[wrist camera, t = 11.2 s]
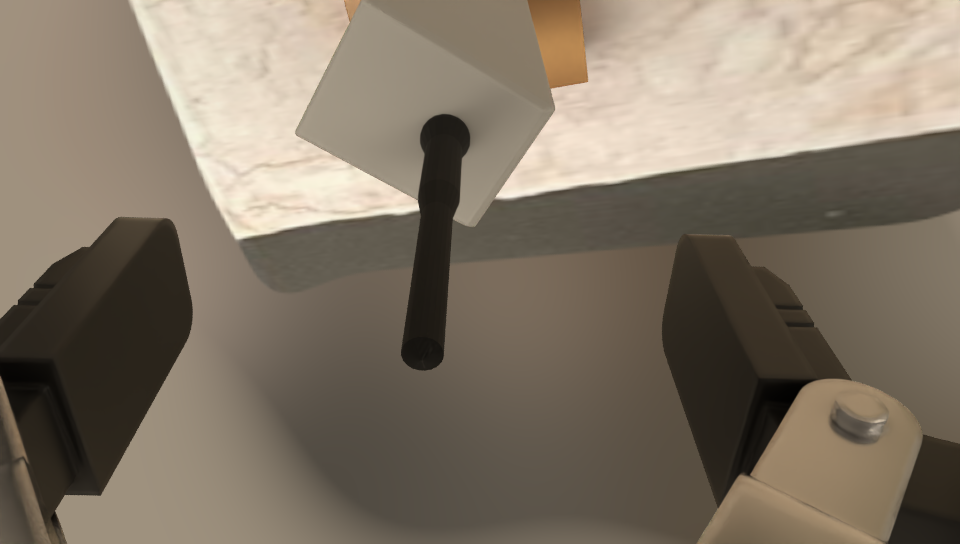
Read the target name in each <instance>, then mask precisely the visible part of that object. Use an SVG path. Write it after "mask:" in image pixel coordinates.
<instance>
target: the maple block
mask: <svg viewBox="0 0 960 544" xmlns="http://www.w3.org/2000/svg"><path fill="white" fill-rule="evenodd" d="M360 1H361V0H344V2H345V6H346V10H347V13H348V17H349V21H351V19H352V17H353V15H354V13H355V11H356V9H357V7H358V5H359V3H360ZM527 1H528V5H529V9H530V13H531V17H532V21H533V24H534V28H535V32H536V36H537V40H538V44H539V47H540V51H541V55H542V59H543V63H544V67H545V71H546V74H547V78H548V82H549V86H550V89H551V88H556V87H562V86H568V85H573V84H579V83H585V82H588V75H587V65H586V55H585V46H584V36H583V26H582V17H581V7H580V0H527Z"/></svg>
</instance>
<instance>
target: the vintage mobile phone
mask: <svg viewBox="0 0 960 544" xmlns="http://www.w3.org/2000/svg"><path fill="white" fill-rule="evenodd" d="M554 111H555V105H554V101H553V98H552V94H551V90H550V86H549V82H548V78H547V74H546V71H545V67H544V63H543V59H542V55H541V51H540V47H539V44H538V40H537V36H536V32H535V28H534V24H533V21H532V17H531V13H530V9H529V5H528V1H527V0H361V1H360V3H359V5H358V7H357V9H356V11H355V13H354V15H353V17H352V19H351V21H350V23H349V25H348V27H347V29H346V31H345V33H344V35H343V37H342V39H341V41H340V43H339V45H338V47H337V49H336V51H335V53H334V55H333V57H332V59H331V61H330V63H329V65H328V67H327V69H326V71H325V73H324V75H323V77H322V79H321V81H320V83H319V85H318V87H317V89H316V91H315V93H314V95H313V97H312V99H311V101H310V103H309V105H308V107H307V109H306V111H305V113H304V115H303V117H302V119H301V121H300V123H299V125H298V127H297V129H296V131H295V134H296V135H297V136H299V137H300V138H302V139H304V140H306V141H308V142H310V143H312V144H314V145H315V146H317V147H319V148H321V149H323V150H325V151H327V152H329V153H330V154H332V155H334V156H336V157H338V158H340V159H342V160H343V161H345V162H347V163H349V164H351V165H353V166H355V167H357V168H358V169H360V170H362V171H364V172H366V173H368V174H370V175H372V176H373V177H375V178H377V179H379V180H381V181H383V182H385V183H386V184H388V185H390V186H392V187H394V188H396V189H398V190H400V191H401V192H403V193H405V194H407V195H409V196H411V197H413V198H415V199H416V200H418V203H419V208H420V213H421V219H420V226H419V233H418V239H417V246H416V253H415V260H414V267H413V274H412V281H411V287H410V295H409V301H408V308H407V315H406V322H405V328H404V335H403V342H402V349H401V356H402V358H403V361H404V362H405V363H406V364H407V365H408V366H410V367H411V368H413V369H417V370H431V369H433V368H435V367H437V366H438V365H439V364H440V363H441V362H442V360H443V356H444V342H445V326H446V311H447V297H448V282H449V281H448V280H449V267H450V251H451V236H452V221H453V219H454V220H456V221H458V222H459V223H461V224H463V225H465V226H470V227H474V226H476V224H477V223H478V221H479V220H480V219H481V217H482V216H483V214H484V213H485V211H486V210H487V208H488V207H489V205H490V204H491V203H492V201H493V200H494V198H495V197H496V195H497V194H498V192H499V191H500V189H501V188H502V187H503V185H504V184H505V182H506V181H507V179H508V178H509V176H510V175H511V173H512V172H513V171H514V169H515V168H516V166H517V165H518V163H519V162H520V160H521V159H522V157H523V156H524V155H525V153H526V152H527V150H528V149H529V147H530V146H531V144H532V143H533V141H534V140H535V138H536V137H537V136H538V134H539V133H540V131H541V130H542V128H543V127H544V125H545V124H546V122H547V121H548V120H549V118H550V117H551V115H552V114H553V112H554Z"/></svg>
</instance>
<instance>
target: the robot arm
mask: <svg viewBox="0 0 960 544" xmlns="http://www.w3.org/2000/svg"><path fill="white" fill-rule="evenodd" d="M192 310H193V309H192V300H191V295H190V291H189V286H188V281H187V276H186V272H185V267H184V262H183V257H182V253H181V248H180V243H179V238H178V234H177V230H176V228H175V226H174V224H173V222H172V221H171V220H170V219H166V218H134V217H132V218H131V217H118V218H116V219H115V220H114V221H113V222H112V223H111V224H110V225H109V226H108V227H107V229H106V230H105V231H104V232H103V233H102V234H101V235H100V236H99V237H98V239H97V240H96V241H95V242H94V243H93V244H92V245H91V246H90V247H82V248H80V249H79V250H77V251H75V252H73V253H71V254H70V255H68V256H66V257H65V258H62V259H61V260H59V261H57V262H55V263H54V264H52V265H51V266H50V268H48V270H47V271H46V272H45V273H44V274H43V275H42V276H41V277H40V278H39V279H38V280H37V281H36V282H35V283H34V288H30V289H29V290H28V291H27V292H26V293H25V294H24V295H23V296H22V297H21V298H20V299H19V300H18V305H14V306H13V307H11V309H10V310H9V311H8V312H7V313H6V314H5V315H4V316H3V317H2V318H1V319H0V544H67V542H66V540H65V537H64V533H63V530H62V528H61V525H60V522H59V520H58V517H57V515H56V512H55V510H56V508H57V507H58V505H59V504H60V502H61V500H62V499H63V497H64V495H98V496H100V495H101V494H102V492H103V490H104V488H105V487H106V485H107V483H108V481H109V479H110V478H111V476H112V474H113V472H114V471H115V469H116V467H117V465H118V464H119V462H120V460H121V458H122V456H123V455H124V453H125V451H126V449H127V447H128V446H129V444H130V442H131V440H132V438H133V437H134V435H135V433H136V431H137V429H138V428H139V426H140V424H141V422H142V420H143V419H144V417H145V415H146V413H147V411H148V409H149V408H150V406H151V404H152V402H153V401H154V399H155V397H156V395H157V393H158V392H159V390H160V388H161V386H162V384H163V383H164V381H165V379H166V377H167V376H168V374H169V372H170V370H171V368H172V366H173V365H174V363H175V361H176V359H177V357H178V356H179V354H180V352H181V350H182V349H183V347H184V345H185V343H186V341H187V339H188V337H189V334H190V330H191V325H192V315H193V314H192V313H193V311H192ZM662 340H663V347H664V352H665V356H666V358H667V361H668V364H669V367H670V370H671V373H672V376H673V379H674V382H675V385H676V388H677V390H678V393H679V396H680V399H681V402H682V405H683V408H684V411H685V414H686V417H687V420H688V422H689V425H690V428H691V431H692V434H693V437H694V440H695V443H696V445H697V449H698V451H699V454H700V457H701V460H702V463H703V466H704V469H705V472H706V474H707V478H708V480H709V483H710V486H711V489H712V492H713V495H714V498H715V501H716V504H717V507H718V510H717V511H716V513H715V515H714V516H713V518H712V520H711V521H710V523H709V524H708V526H707V528H706V529H705V531H704V533H703V534H702V536H701V538H700V539H699V541H698V542H697V544H960V444H958V443H953V442H950V441H946V440H941V439H937V438H934V437H930V436H927V435H923V434H922V429H921V427H920V425H919V423H918V421H917V420H916V418H915V417H914V415H913V414H912V413H911V412H910V411H909V410H908V409H907V408H906V407H905V406H904V405H902V404H901V403H900V402H899V401H897V400H896V399H894V398H893V397H891V396H890V395H888V394H886V393H884V392H882V391H880V390H878V389H876V388H873V387H871V386H868V385H865V384H862V383H858V382H855V381H852V380H851V378H850V377H849V375H848V374H847V372H846V371H845V369H844V368H843V366H842V365H841V363H840V362H839V360H838V359H837V357H836V356H835V354H834V353H833V351H832V349H831V348H830V346H829V345H828V343H827V342H826V340H825V339H824V337H823V336H822V334H821V333H820V331H819V330H818V328H815V327H814V322H813V321H812V319H811V318H810V316H809V315H808V313H807V311H806V310H803V305H802V304H801V302H800V301H799V299H798V298H797V296H796V295H795V293H794V292H793V290H792V289H791V287H790V286H789V285H788V284H787V283H785V282H784V281H783V280H781V279H780V278H778V277H777V276H776V275H775V274H773V273H772V272H770V271H769V270H768V269H766V268H765V267H752V266H751V265H750V264H749V262H748V260H747V259H746V257H745V256H744V254H743V252H742V250H741V249H740V247H739V245H738V244H737V242H736V240H735V239H734V238H733V237H732V236H730V235H699V234H684V235H682V236H681V238H680V240H679V242H678V245H677V250H676V254H675V259H674V264H673V270H672V275H671V279H670V284H669V289H668V294H667V299H666V304H665V309H664V314H663V322H662Z"/></svg>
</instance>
